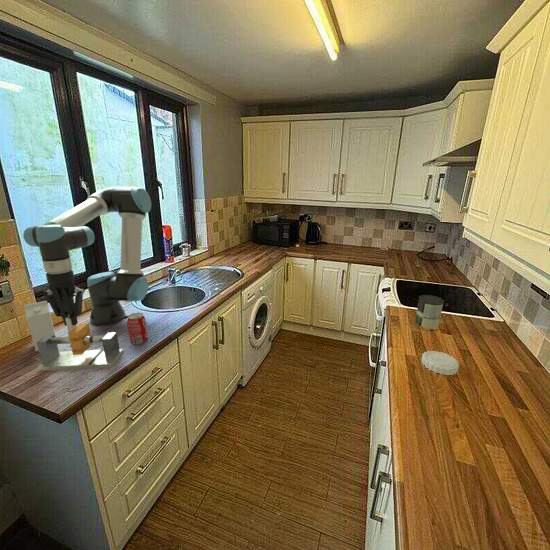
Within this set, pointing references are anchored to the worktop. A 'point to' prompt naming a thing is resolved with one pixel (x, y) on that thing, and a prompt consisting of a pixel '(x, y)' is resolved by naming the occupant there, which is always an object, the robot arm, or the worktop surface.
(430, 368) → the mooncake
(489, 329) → the worktop surface
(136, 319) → the soda can
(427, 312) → the coffee can
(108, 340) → the pipe stand
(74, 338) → the orange tall block
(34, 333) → the milk carton
